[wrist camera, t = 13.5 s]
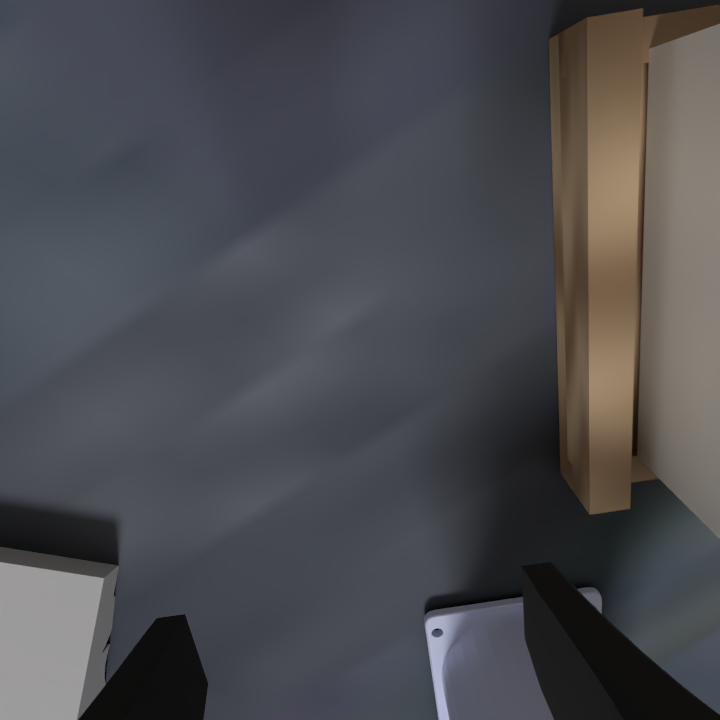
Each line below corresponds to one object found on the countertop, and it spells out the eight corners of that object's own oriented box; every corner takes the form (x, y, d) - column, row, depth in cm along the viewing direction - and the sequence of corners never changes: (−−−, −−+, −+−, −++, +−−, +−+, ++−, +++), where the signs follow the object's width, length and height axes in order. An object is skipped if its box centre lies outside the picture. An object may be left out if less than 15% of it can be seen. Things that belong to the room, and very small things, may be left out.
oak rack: (777, 440, 23) (834, 478, 20) (560, 473, 23) (589, 514, 20) (835, -9, 17) (926, -40, 14) (548, 39, 17) (586, 17, 14)
